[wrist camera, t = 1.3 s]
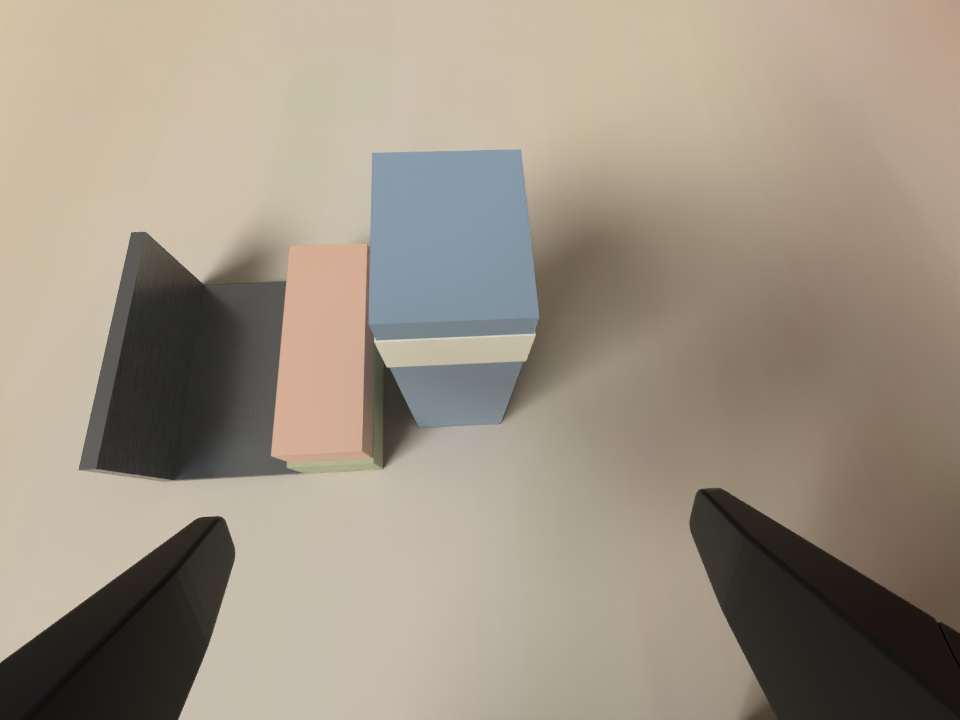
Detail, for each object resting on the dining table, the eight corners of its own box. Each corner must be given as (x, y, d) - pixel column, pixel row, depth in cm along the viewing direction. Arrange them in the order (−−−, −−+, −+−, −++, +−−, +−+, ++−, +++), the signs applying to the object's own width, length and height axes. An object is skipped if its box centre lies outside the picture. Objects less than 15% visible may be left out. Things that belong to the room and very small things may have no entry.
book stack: (383, 469, 22) (363, 456, 18) (305, 473, 22) (266, 461, 17) (384, 281, 25) (368, 231, 21) (317, 283, 25) (287, 234, 21)
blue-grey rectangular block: (501, 424, 23) (541, 319, 11) (417, 429, 22) (365, 326, 11) (494, 329, 24) (522, 148, 13) (416, 332, 24) (370, 151, 12)
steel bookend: (305, 473, 22) (260, 460, 17) (164, 481, 21) (78, 470, 17) (317, 283, 25) (283, 227, 20) (195, 288, 25) (131, 232, 20)
